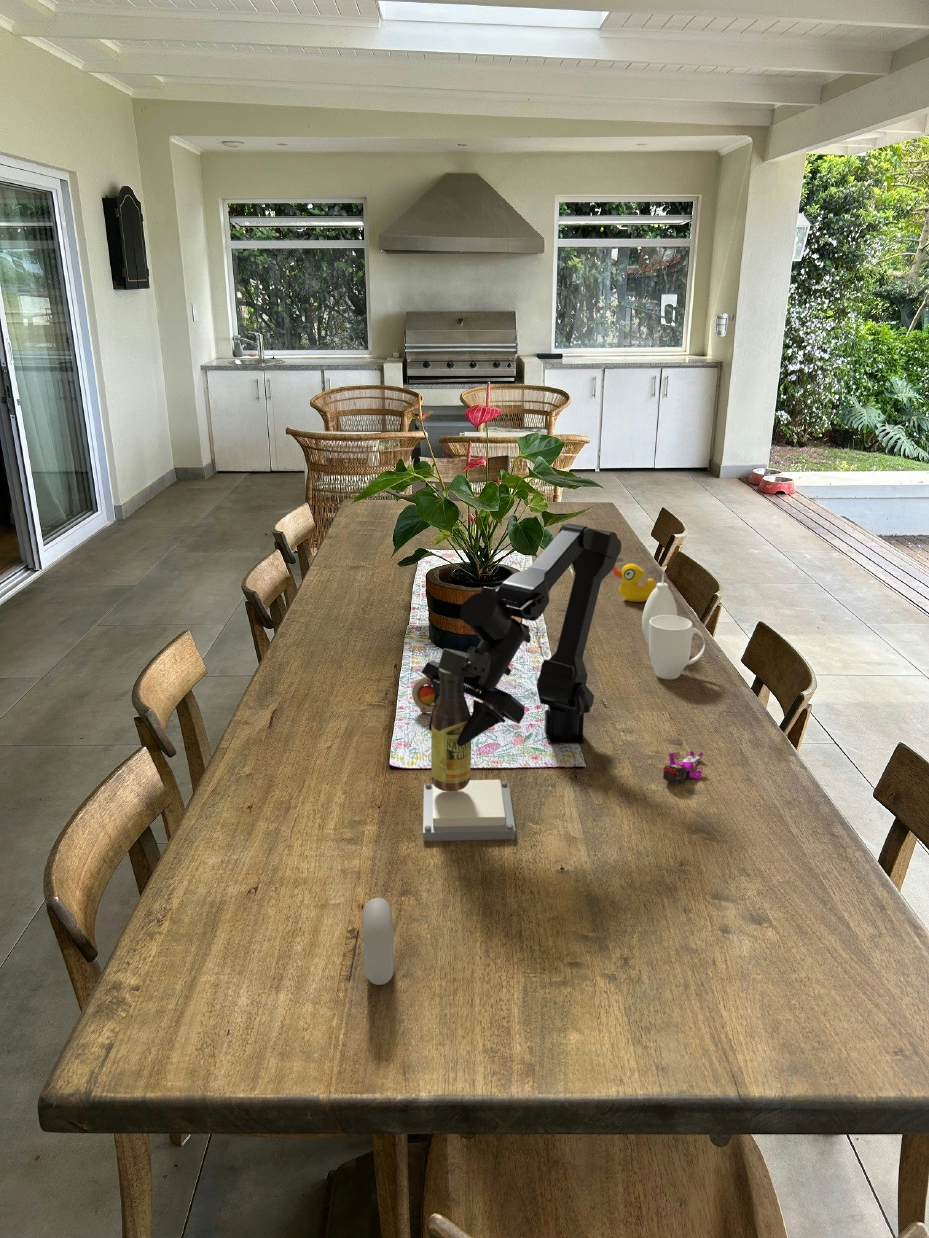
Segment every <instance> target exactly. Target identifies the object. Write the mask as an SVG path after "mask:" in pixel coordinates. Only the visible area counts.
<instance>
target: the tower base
mask: <svg viewBox="0 0 929 1238" xmlns="http://www.w3.org/2000/svg"><path fill="white" fill-rule="evenodd" d="M511 798H512V797H511V791H510V784H509V782H507V781H501V779H475V780H474V779H472V780H471V779H470V781H469V783H468V785H467V786H466V787H465V788H463V789H461V790H457V791H442V790H440V789H438V788H436V787H435V786H434V785H433V783H430V782H427V783H425V784H423V813H422V814H423V817H422V820H423V821H422V839H423V842H435V841H436V842H439V841H440V842H443V841H447V842H448V841H449V842H450V841H485V840H486V841H490V840H491V841H492V840H493V841H494V840H516V825H515V818H514V811H513V805H512V804H513V803H512V799H511Z"/></svg>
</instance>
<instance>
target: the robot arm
mask: <svg viewBox="0 0 929 1238" xmlns="http://www.w3.org/2000/svg"><path fill="white" fill-rule="evenodd" d="M621 552H622V541H621V540H620V538H619V537H618V534H617V532H615V531H609V530H603V529H597V528H591V527H588V526H586V525H580V524H575V523H566V524H565V523H564V524H562V525H561V527H560V528H559V530H558V534H556V535H555V538H553V539H552V540H551V542H550V543H549V544H548V545H547V547H546V548H544V549H543V551H542V552H541V554H540V555H538V556H537V558H536V559H535V560H534V561H533V562H532V563H531V565H530V566H529V567H527V568H526V569H523V570H522V571H518V572H514V573H513V574H511V575H510V576H509V577H507V578H506V579H505V580H504V581H503V582H501V584H500V585H499V586H498V587H497V588H492V587H488V586H483V587H482V588H481V591H480V592H477V593H474V594H472V595H471V596H469V597H468V598H467V599H466V600H465V601H464V602H463V603H462V605H461V607H460V617H461V619H462V621H463V623H464V624H465V625H467V626H468V627H469V628H470V630H471V631H473V632H474V634H476V636H477V637H478V638H479V639H481V640H480V642H479V644H478V645H477V647H476V646H474V645H471V646H470V647H469V648H468V649H467V651H466V652H465V651H460V650H455V649H450V648H446V647H445V648H444V647H443V650H442V652H441V656H440V660H439V661H437V660H434V659H432V660H430V661H427V662H426V664H425V666H423V668H422V670H421V672H420V673H421V675H424V677H425V676H426V677H427V678H429V679H430V683H431V684H432V685H433V689H434V693H435V696H434V703H433V706H434V704H435V702H436V700H437V699H438V697H439V696H440V694H439V691H440V678H439V668H441V669H445V670H447V671H449V672H450V673H451V674H453V675H456V676H459V677H463V676H465V678H464V694H466V695H469V696H471V697H473V698H475V699H473V705H472V706H473V707H472V713H471V714H470V715H471V716H470V718H469V720H468V722H467V723H466V725H465V727H464V729H463V730H462V732H461V734H460V736H459V738H458V741H457V745H459V746H460V747H462V746H463V745H465V744H466V743H468V742H469V741H471V742H472V740H473V739H475V738H477V737H478V736H479V735H481V734H482V733H484V732H485V731H488V730H489V729H491V728H493V727H494V726H496V725H498V724H499V723H502V724H504V723H506V722H507V721H506V719H507V720H508V721H510V722H514V723H516V724H517V725H520V724H521V721H522V720H523V718H524V716H525V714H526V713H525V705H524V704H523V703H522V702H520V701H519V700H518V699H517V698H515V697H514V695H512V693H509V692H507V691H504V690H502V689H500V688H498V687H497V686H498V684H499V683H500V681H501V679H502V677H503V676H504V675H505V676H510V674H511V673H512V669H511V668H510V667H509V666H510V664H511V663H512V660H513V659H514V657H515V656H516V654H517V652H518V650H519V649H520V648H521V647H520V646H521V645H522V644H523V642H525V643H527V644H530V642H532V641H531V639H532V638H531V637H532V636H531V633H530V626H529V625H527V624H524V623H522V622H519V620H517V619H515V618H518V619H519V618H520V619H523V620H527V621H531V622H534V621H537V620H538V619H540V617H541V616H542V615H543V614H544V612H545V610H546V608H547V606H548V605H549V603H550V591H551V589H552V588H553V586H555V584H556V583H557V581H558V580H559V579H560V578H561V577H562V575H564V573H565V572H566V571H567V569H568V568H569V567H570V566H571V565H572V568H573V569H572V570H573V572H574V576H573V577H574V578H573V580H572V581H573V582H572V585H571V590H570V593H569V594H570V595H569V598H568V603H567V606H566V610H565V614H564V618H563V623H562V627H561V630H560V634H559V635H560V636H559V638H558V643H557V648H556V651H555V653H554V654H552V656H550V657H549V658H548V659H547V658H545V659H543V662H541V669H540V672H539V674H538V675H539V676H538V678H537V682H536V689H537V695H538V698H539V704H540V705H546V706H547V709H545V710H544V727H543V728H544V732H545V736H546V737H548V742H549V743H550V744H570V743H571V744H576V743H577V744H578V743H579V744H581V743H585V741H586V739H585V736H584V725H585V724H584V719H585V717H584V716H585V714H589V713H591V709H592V707H593V704H594V700H595V695H594V694H593V692H592V691H591V689H590V688H589V687H588V686H587V680H588V672H587V669H586V666H585V662H584V659H583V658H584V653H585V650H586V647H587V646H586V645H587V641H588V637H589V633H590V628H591V626H592V625H591V624H592V621H593V617H594V614H595V610H596V604H597V601H598V596H599V592H600V589H601V584H602V581H603V580H604V579H605V578H606V577H607V576H608V575H609V574H610V573H611V572H613V568H614V566H616V563H617V560H618V558H619V556H620V554H621ZM513 617H515V618H513ZM480 701H481V702H480ZM430 713H431V714H430V718H429V723H428V730H429V731H430V732H431V724H432V712H430Z"/></svg>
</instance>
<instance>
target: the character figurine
mask: <svg viewBox="0 0 929 1238" xmlns="http://www.w3.org/2000/svg"><path fill="white" fill-rule="evenodd" d="M680 756H681V753H680V751H674V752H671V753H668V757H669V763H670V764H669V765H664V767H663V768H662V770H663V776H662V777H663V780H665V781H667V782H670V783H672V784H682V783H685V781H686V779H689V778H691V779H694V780H700V779H701V776H702V773H703V772H704V771H703V770H704V767H705V766H704V765H701V764H699V765H697V764H698V763H699V762H700V760H701V759H702V757H703V756H704V753H703V752H702V751H700V752H699V754H698V755H696V756H695V754H694V751H693V750H691V751H689V756H687V757H685V758H683V759H682V761H680V762H676V759H675V758H679V757H680ZM696 765H697V767H696ZM695 767H696V769H695ZM692 770H696V773H695V772H691V771H692Z"/></svg>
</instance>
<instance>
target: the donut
mask: <svg viewBox="0 0 929 1238" xmlns="http://www.w3.org/2000/svg"><path fill="white" fill-rule="evenodd" d="M392 915H393V913H392V907H391V905H390V904H389V902H388V901H387V900H386V899H384V898H382V897H381V898H380V897H374V898H372V899H371V900H368V901H367V903H366V904H365V906H364V910H363V917H362V949H363V964H364V972H365V976H366V978H367V980H368V981H369V982H370V983H371V984H374V985H378V986H381V985H385V984H386V983H388V982H389V981H390V980H391V979H392V977H393V975H394V967H395V965H394V963H395V961H394V960H395V955H394V952H395V951H394V931H393V928H394V927H393V925H394V924H393V916H392Z"/></svg>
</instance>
